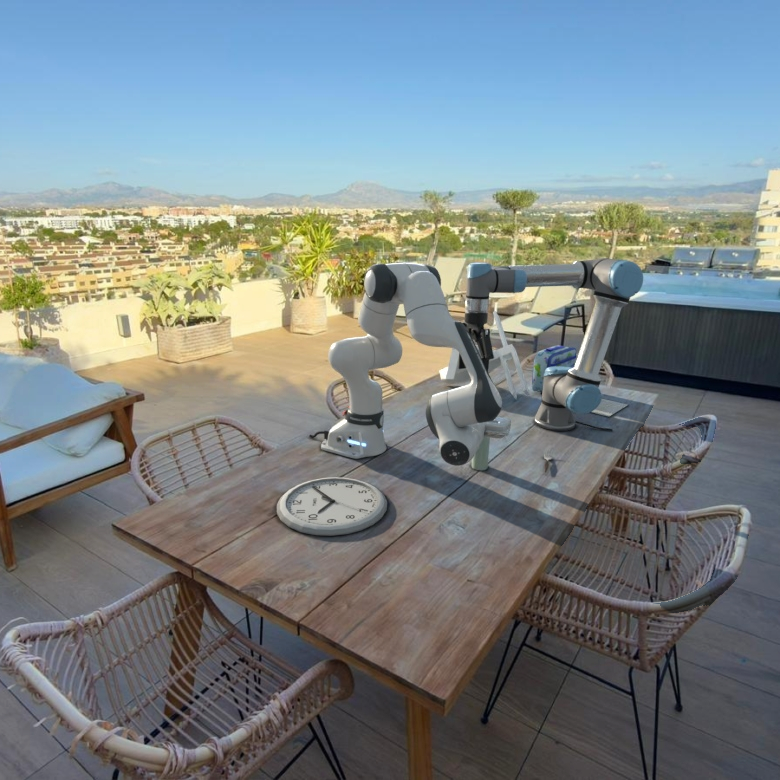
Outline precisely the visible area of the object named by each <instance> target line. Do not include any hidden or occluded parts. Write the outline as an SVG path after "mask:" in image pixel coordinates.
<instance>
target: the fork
mask: <svg viewBox="0 0 780 780" xmlns="http://www.w3.org/2000/svg"><path fill="white" fill-rule="evenodd" d="M553 451H554V450H553V448H552V451H551V449H549V451H547V450H545V452H544V455H543V459H545V460H546V461H545V463H544V473H547V470H548V468H549V461H551V460H553Z"/></svg>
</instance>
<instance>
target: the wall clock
mask: <svg viewBox="0 0 780 780" xmlns="http://www.w3.org/2000/svg"><path fill="white" fill-rule="evenodd" d="M387 509H388V500H387V498H386V496H385V494H384V493H383V492H382V491H381V490H380V489H379V488H377V487H376V486H374V485H372V484H371V483H369V482H365V481H362V480H359V479H355V478H349V477H338V476H337V477H335V476H333V477H332V476H331V477H322V478H317V479H312V480H307V481H305V482H302V483H299V484H297V485H295V486H293V487H292V488H290V489H288V490H287V491H286V492H285V493H284V494H283V495H281V496H280V498H279V499H278V502H277V503H276V515H277V517H278V518H279V520H280V521H281V522H282V523H283V524H285V525H286V526H287V527H288V528H290V529H293V530H295V531H297V532H299V533H303V534H308V535H312V536H327V537H328V536H329V537H331V536H332V537H333V536H342V535H350V534H352V533H356V532H361V531H363V530H366V529H368V528H369V527H372V526H373V525H375V524H376V523H378V522H379V521H380V520H381V519H382V518H383V517H384V516H385V514H386V512H387Z"/></svg>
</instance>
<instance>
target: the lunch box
mask: <svg viewBox="0 0 780 780" xmlns="http://www.w3.org/2000/svg"><path fill="white" fill-rule="evenodd" d="M576 359H577V348H576V347H571V346H565V345H553V346H550V347H546V348H545V349H542V350H539V351H538V352H537V353H536V354H535V356H534V358H533V365H532V376H531V377H532V378H531V390H532V391H533V392H537V393H542V391H543V382H544V373H545V370H546V369H547V368H548V367H572V368H573V367H574V365H575V362H576Z"/></svg>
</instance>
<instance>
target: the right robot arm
mask: <svg viewBox="0 0 780 780" xmlns="http://www.w3.org/2000/svg"><path fill="white" fill-rule="evenodd" d="M466 273H467V274H466V288H465V302H464V305H465V306H464V308H465V312H464V318H463V319H464V322H462V323H463V324H464V326H465V327H466V328H467V330H468V331H469V333H470V335H471V337H472V339H473V341H474V343H476V346H478V348H479V351H480V354H481V357H482V360H483V363H484V365H485V367H486V369H487V371H488V368H489V367H488V366H489V360H490V359H493V358H494V355H493V350H494V349H493V345H492V341H491V340H492V339H491V329H490V328H485V325H486V324H487V323H488V319H489V317H488V316H489V313H488V311H489V305H490V294H494V293H497V294H516V293H518V294H521V293H523V292H524V291H525V290H526V288H537V287H538V288H540V287H542V288H543V287H570V286H572V287H573V288H574V289H587V290H592V291H594V292H593V294H592V296H593V298H594V300H595V304H594V306H593V309H592V311H591V315H590V318H589V321H588V323H587V327H586V330H585V333H584V335H583V339H582V341H581V345H580V347H579V351H578V354H577V355H576V362H575V365H574V367H573V368H572V367H548V368H547V369H546V370H545V373H544V382H543V391H542V394H541V402H540V405H539V406H538V410H537V411H536V413H535V416H534V424H535V425H536V426H537V427H539V428H542V429H544V430H549V431H556V432H567V431H572V430H574V429H575V428H576V424H578V425H581V426H584V427H588V428H592V429H595V430H599V431H608V432H613V428H607V427H599V426H595V425H592V424H588V423H585V422H581V421H579V420H578V421H577V420H576V418H575V417H576V416H575V414H577V415H587V414H590V413H592V412H591V411H594V410H595V409H596V408H597V407H598V406H599V404H600V402H601V399H603V393H602V392H601V389H600V385H601V382H602V379H601V376H600V375H599V373H600V371H601V368H602V365H603V362H604V359H605V356H606V354H607V351H608V348H609V346H610V343H611V340H612V336H613V334H614V331H615V327H616V326H617V322H618V321H619V320H618V319H619V316H620V314H621V312H622V311H621V310H622V308H623V307H625V306H627V305H628V304H629V303H630V301H631V300H630V299H631V298H632V297H634V296H636V294H638V293H639V292H640V291H641V289H642V287H643V284H644V273H643V271H642V269H641V267H640V266H639V265H638V264H637V263H636V262H634V261H630V260H628V259H618V258H609V257H607V258H606V257H603V258H594V259H587V260H575V261H574V262H573V263H563V264H560V263H559V264H530V265H527V264H526V265H525V264H524V265H499V266H498V265H492V264H491V263H490V262H470V263H469V264H468V266H467V271H466ZM465 368H466V366H465V364H464V362H463V360H462V357H461V355H460V353H459V366H458V369H465Z"/></svg>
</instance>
